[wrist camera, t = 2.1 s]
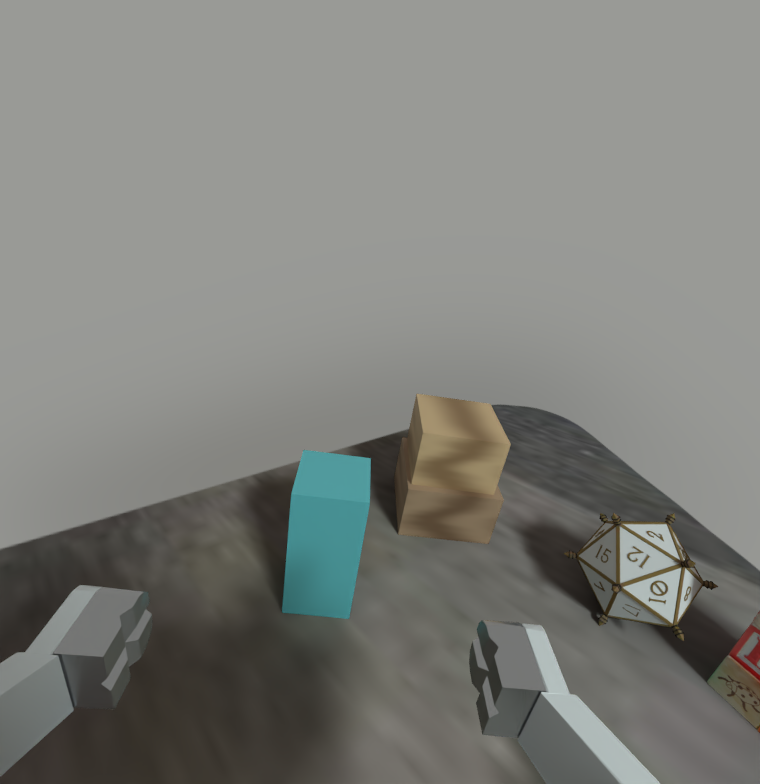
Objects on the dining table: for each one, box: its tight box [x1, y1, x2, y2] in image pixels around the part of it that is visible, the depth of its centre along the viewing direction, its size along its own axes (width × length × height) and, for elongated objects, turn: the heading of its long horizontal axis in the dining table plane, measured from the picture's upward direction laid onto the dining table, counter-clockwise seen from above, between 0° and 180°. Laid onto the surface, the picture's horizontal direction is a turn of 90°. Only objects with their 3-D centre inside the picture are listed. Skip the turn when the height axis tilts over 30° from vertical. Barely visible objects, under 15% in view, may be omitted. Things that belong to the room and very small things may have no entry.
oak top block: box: [407, 394, 511, 495], centre depth 37 cm, size 7×7×5 cm
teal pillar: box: [282, 450, 371, 619], centre depth 28 cm, size 4×4×10 cm
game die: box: [564, 513, 718, 641], centre depth 31 cm, size 9×8×10 cm
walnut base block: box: [394, 437, 504, 544], centre depth 39 cm, size 8×8×5 cm
